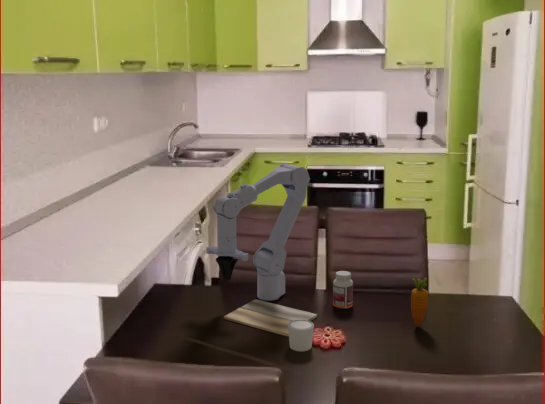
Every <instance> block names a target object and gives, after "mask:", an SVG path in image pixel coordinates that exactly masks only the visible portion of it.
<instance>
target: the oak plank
mask: <svg viewBox="0 0 545 404" xmlns="http://www.w3.org/2000/svg"><path fill="white" fill-rule="evenodd" d="M223 319H224V320H226V321H231V322H234V323H238V324H241V325H245V326H249V327H252V328H255V329H259V330H263V331H266V332H270V333H275V334H276V335H282V336H284V337H289V331H288V323H289V322H291V321H289V320H285V319H281V318H278V317H274V316H270V315H266V314H262V313H258V312H254V311H250V310H246V309H243V308H241V307H238V308H236V309H235V310H233V311H232V312H229V313H227V314H226V315H224V316H223Z"/></svg>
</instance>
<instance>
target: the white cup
mask: <svg viewBox="0 0 545 404" xmlns="http://www.w3.org/2000/svg"><path fill="white" fill-rule="evenodd" d="M314 329H315V324H314V323H313V322H312V321H307V320H294V321H291V322H289V323H288V331H289V336H288V341H289V347H290V349H291V350H292V351H296V352H306V351H310V350H311V349H312V347H313V346H312V345H313V337H314Z"/></svg>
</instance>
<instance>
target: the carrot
mask: <svg viewBox="0 0 545 404" xmlns="http://www.w3.org/2000/svg"><path fill="white" fill-rule="evenodd" d="M411 280H412V282H413V284H414V286H415V288H413V289H412V291H411V294H410V308H411V309H410V310H411V316H412V317H411V318H412V320H413V322H414V325H415V326H416V327H417V328H419V327H420V326H421V325H422V323H423V321H424V320H425V316H426V313H427V308H428V303H429V291H428V290H427V289H425V287H426V286H427V285H428V284H427V280H428V278H427V277H424V278H423V279H420V278H417V279H416V278H412V279H411Z"/></svg>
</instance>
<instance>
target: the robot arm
mask: <svg viewBox="0 0 545 404" xmlns="http://www.w3.org/2000/svg"><path fill="white" fill-rule="evenodd" d="M310 181H311V178H310V174H309V172H308V170H307V169H306V167H305V166H304V167H303V166H296V165H293V164H289V163H285V162H284V163H282V164H280V165H278V166H276V167H274V169H273V170H272V171H271V172H269V173H268V174H266V175H264V176H263V177H261V178H260V179H259V180H258V181H256V182H255V183H253V184H249V183H245V184H243V183H242V184H241V185H240V186H239V188H237V189H236V190H234V191H233V192H231V191H230V192H228V193H227V195H226V196H223V195H222V196H219V197H218V198H217V199H216V200H215V202H214V205H213V206H212V208H213V211H214V213H215V214H216V221H217V222H216V232H217V233H216V234H217V235H216V236H217V237H216V238H217V239H216V240H217V246H212V245H210V246H207V247H206V248H205V249H206V250H205V251H206V254H207V255H216V256H217V257H216V258H215V261H216V263H217V265H218V267H219V269H220V271H221V274H222V279H223V280H224V281H229V280H231V279H232V276H233V272H234V269H235V266H236V264H237V262H238V261H239V260H241V261H242V262H247V261H248V260H249V253H247V252H244V251H242V250H239V249H237V216H239V214H240V213H241V210H243V209H244V208H245V207H247V206H249V205H251V204H253V203H254V202H255V201H257V199H258V195H260V194H262V193H263V192H265V191H268V190H270V189H272V188H273V187H275V186H277V185H281V186H282V187H283V188H284V190H285V192H286V195H287V196H286V199H285V202H284V203H283V205H282V208H281V211H280V213H279V214H278V217H277V220H276V222H275V224H274V226H273V228H272V230H271V233H270V235H269V237H268V240H266V241H265V242H263V243H261V244H260V247H259V248H258V249H257V250H256V251H255V253H254V254H253V258H252V262H253V265H254V266H255V267H256V271H257V279H256V280H257V281H256V282H257V283H256V287H257V291H256V292H257V293H256V294H257V295H256V296H257V299H258V300H261V301H265V302H269V301H276V300H279V299H280V297H282V296H283V295H284V294H286V276H285V272H284V271H283V270H284V268H285V265H286V264H285V263H286V262H285V261H286V257H287V251H286V249H285V245H286V243H287V241H288V238H289V236H290V235H291V232H292V229H293V227H294V225H295V222H296V221H297V218H298V216H299V214H300V211H301V209H302V207H303V204H304V203H305V200H306V197H307V190H308V188H307V187H308V185H309V182H310Z"/></svg>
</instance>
